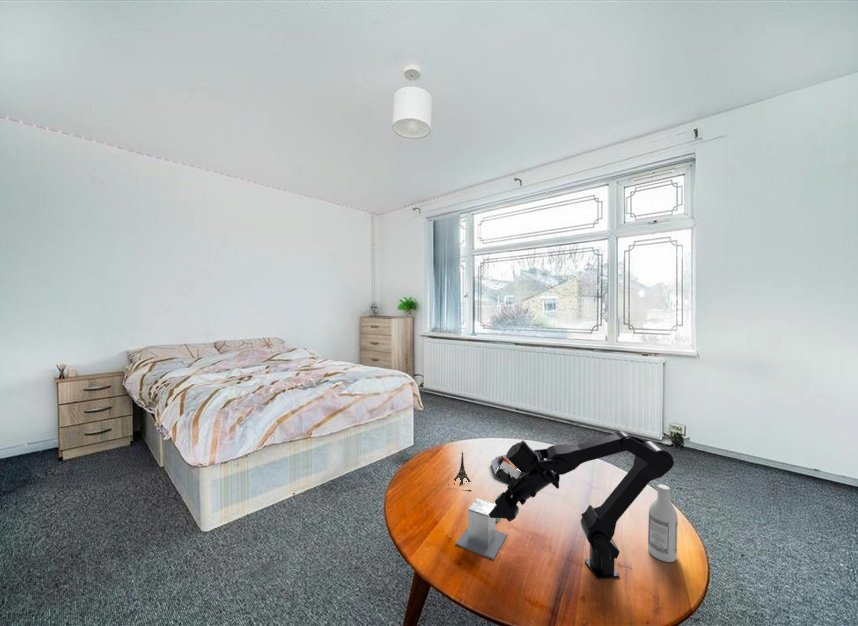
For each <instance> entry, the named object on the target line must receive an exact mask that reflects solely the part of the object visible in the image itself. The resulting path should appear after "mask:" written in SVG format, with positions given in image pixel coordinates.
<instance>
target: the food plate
mask: <svg viewBox="0 0 858 626" xmlns="http://www.w3.org/2000/svg"><path fill="white" fill-rule="evenodd" d="M503 462H507V463H508V464H510V465H511V466H512V467H514V468H515V469H517V468H516V467H515V466H514V465H513V464H512V463H511V462H510V461H509V460H508V459H507V458H506V454H503V455H499V456H495V458H494V459H492V461H491V462H490V464H491V467H492V469H493V474H494V475H496V472H497V471H496V470H497V468H498V467H499V466H500V465H501V464H502V463H503ZM517 471H518V470H517Z"/></svg>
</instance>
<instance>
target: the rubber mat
mask: <svg viewBox="0 0 858 626" xmlns="http://www.w3.org/2000/svg"><path fill="white" fill-rule="evenodd" d="M507 537H508V534H507V533H505V532H501V531H499V530H497V529H495V538H494V539H493V541H492V543H491V544H490V546H489V548H488V549H487V548H485V547H482V546H480V545H477V544H474V543H472V542H469V541H468V526H467V527H466V529H465V530H464V532H463V533H462V534H461V535H460V537H459V538H458V539H457V540H456V542H455V545H456V546H458V547H461V548H463V549H464V550H465V549H466V550H468V551H471V552H472V553H475V554H478V555H480V556H482V557H486V558H487V559H490V560H493V561H494V560H495V559H496V557H497V555H498V554H499V552H500V550H501V548H502V546H503V544H504V542H505V541H506V539H507Z"/></svg>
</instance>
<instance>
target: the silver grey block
mask: <svg viewBox="0 0 858 626" xmlns="http://www.w3.org/2000/svg"><path fill="white" fill-rule="evenodd" d="M495 506H496V504H495V503H492V502H489V501H486V500H482V499H480V498H475V500H474V501H473V502H472V503H471V505H469V507H468V509H467V512H468V513H467V515H468V516H467V527H468V541H469V542H472V543H474V544H477V545H480V546H482V547H485V548H487V549H488V548H489V546H490V544H491V543H492V541H493V539H494V538H495V530H496V523H497V522H496V518H490V516H489V513H490V512H491V511H492V510H493V508H494V507H495Z"/></svg>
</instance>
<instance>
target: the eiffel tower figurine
mask: <svg viewBox="0 0 858 626" xmlns="http://www.w3.org/2000/svg"><path fill="white" fill-rule="evenodd" d="M464 463H465V462H464V452H463V450H462V452H461V459H460V467H459V470H458V473H457V472H456V476H455V477H454V480H455V481H456V479H457V478H460V480H461V482H460V484H461V485H462V486H464V485H463V479H464V478H466V479H467V480H468V482H470V483H471V482H472V481H471V480H470V478H469V477H468V475H467V473H466V469H465V466H464V465H465V464H464ZM466 482H467V481H466ZM454 485H455V483H454ZM461 485H460V486H461Z"/></svg>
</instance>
